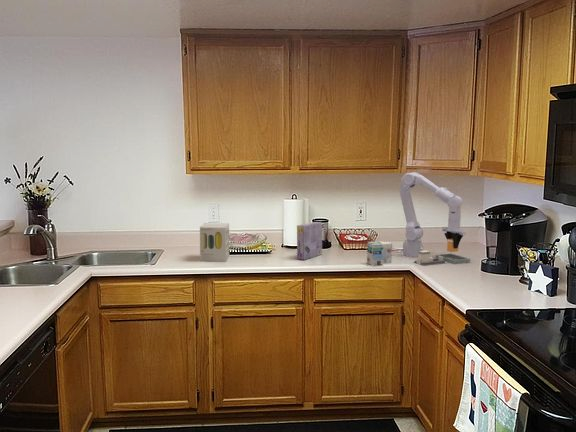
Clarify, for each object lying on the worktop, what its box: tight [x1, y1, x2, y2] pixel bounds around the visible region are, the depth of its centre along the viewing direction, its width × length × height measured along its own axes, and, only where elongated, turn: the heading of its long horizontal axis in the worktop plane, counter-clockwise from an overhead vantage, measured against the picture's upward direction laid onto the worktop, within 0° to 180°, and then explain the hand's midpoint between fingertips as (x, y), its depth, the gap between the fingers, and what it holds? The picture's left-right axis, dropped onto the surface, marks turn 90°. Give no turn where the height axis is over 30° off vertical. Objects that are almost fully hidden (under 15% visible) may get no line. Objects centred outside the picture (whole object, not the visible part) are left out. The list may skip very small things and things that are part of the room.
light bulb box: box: [366, 240, 393, 267], centre depth 273 cm, size 11×7×11 cm, turn 105°
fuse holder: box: [412, 256, 448, 267], centre depth 273 cm, size 9×14×4 cm, turn 114°
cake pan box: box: [296, 221, 323, 261], centre depth 288 cm, size 19×5×18 cm, turn 146°
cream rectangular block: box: [417, 250, 431, 263], centre depth 271 cm, size 3×5×6 cm
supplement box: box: [199, 222, 230, 263], centre depth 282 cm, size 13×13×18 cm
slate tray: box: [434, 252, 471, 265], centre depth 278 cm, size 14×10×3 cm
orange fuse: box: [446, 238, 459, 253], centre depth 277 cm, size 3×5×6 cm
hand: (453, 247), depth 278 cm, fingers closed on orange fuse, 3 cm apart
